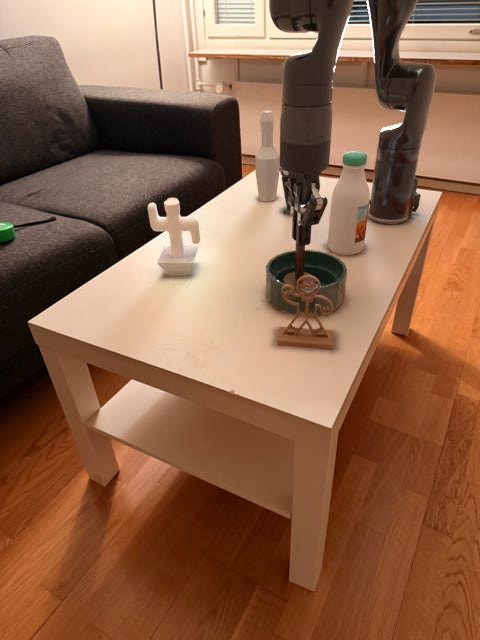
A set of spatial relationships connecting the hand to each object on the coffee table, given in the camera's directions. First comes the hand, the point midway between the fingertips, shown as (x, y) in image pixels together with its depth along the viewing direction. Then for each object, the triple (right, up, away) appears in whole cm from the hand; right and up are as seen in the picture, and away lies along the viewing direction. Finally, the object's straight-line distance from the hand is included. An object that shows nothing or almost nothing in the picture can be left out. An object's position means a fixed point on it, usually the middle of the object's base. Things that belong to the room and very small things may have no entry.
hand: (301, 241), depth 78 cm
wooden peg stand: (0, -8, +6) cm, 10 cm away
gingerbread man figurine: (0, -17, -3) cm, 17 cm away
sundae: (+3, +14, +40) cm, 42 cm away
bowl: (+2, -9, +7) cm, 12 cm away
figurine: (-23, -3, +17) cm, 29 cm away
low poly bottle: (-3, +20, +48) cm, 52 cm away
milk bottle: (+13, +2, +22) cm, 26 cm away
